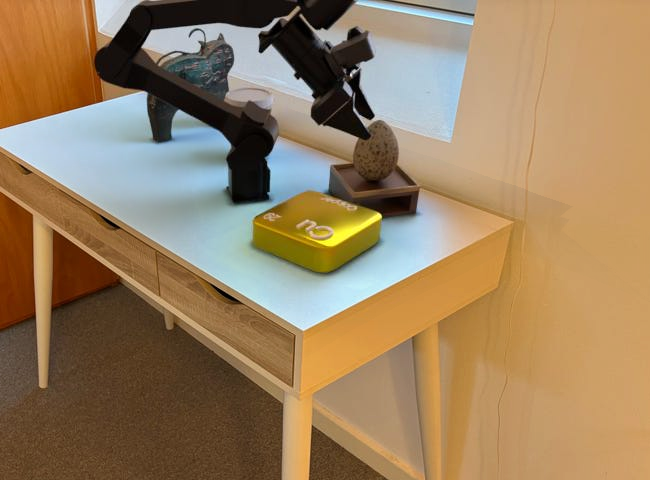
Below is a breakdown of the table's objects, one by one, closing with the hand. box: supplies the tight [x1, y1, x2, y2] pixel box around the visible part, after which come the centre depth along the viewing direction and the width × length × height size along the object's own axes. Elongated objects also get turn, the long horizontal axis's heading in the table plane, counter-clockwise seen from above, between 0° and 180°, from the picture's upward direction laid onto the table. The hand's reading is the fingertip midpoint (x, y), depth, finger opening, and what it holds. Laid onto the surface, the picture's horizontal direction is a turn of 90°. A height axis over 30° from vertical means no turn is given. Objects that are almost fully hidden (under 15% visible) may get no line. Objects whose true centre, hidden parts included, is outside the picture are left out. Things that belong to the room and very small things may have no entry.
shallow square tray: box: [328, 162, 421, 218], centre depth 120 cm, size 11×12×5 cm
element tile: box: [252, 189, 383, 274], centre depth 110 cm, size 15×15×5 cm
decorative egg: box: [352, 119, 400, 182], centre depth 116 cm, size 7×7×10 cm
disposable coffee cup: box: [224, 86, 275, 149], centre depth 136 cm, size 10×10×12 cm
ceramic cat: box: [146, 27, 235, 143], centre depth 147 cm, size 20×6×20 cm, turn 122°
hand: (370, 128), depth 114 cm, fingers open, 9 cm apart
